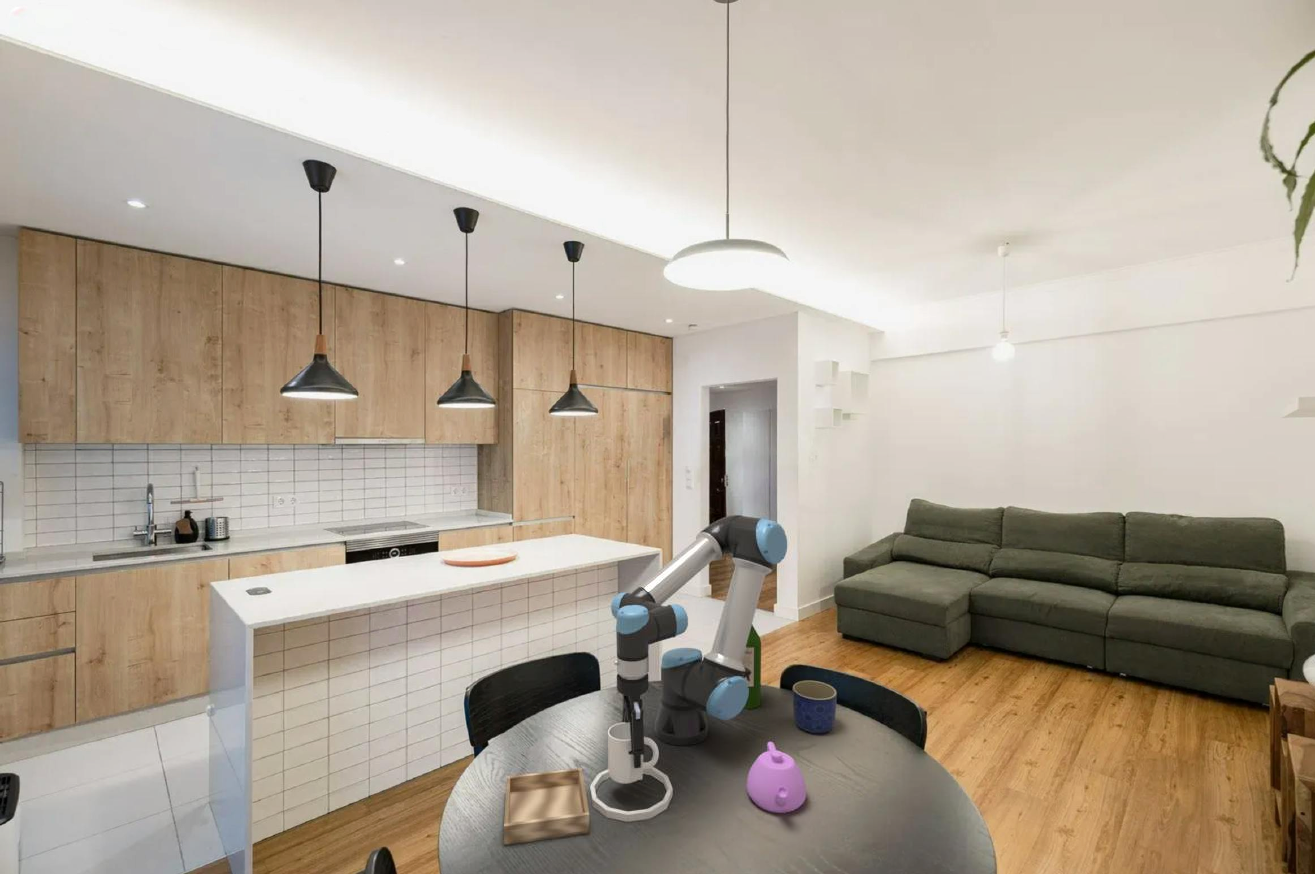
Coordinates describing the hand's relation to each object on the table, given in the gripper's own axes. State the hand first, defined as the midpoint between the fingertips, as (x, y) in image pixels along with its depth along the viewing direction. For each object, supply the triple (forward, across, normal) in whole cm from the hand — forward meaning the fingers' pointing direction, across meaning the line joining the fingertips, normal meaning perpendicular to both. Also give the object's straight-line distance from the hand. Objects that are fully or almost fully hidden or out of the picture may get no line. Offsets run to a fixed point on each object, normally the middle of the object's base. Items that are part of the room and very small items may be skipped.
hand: (632, 767), depth 138 cm
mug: (+1, +1, 0) cm, 2 cm away
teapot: (+7, +9, +32) cm, 34 cm away
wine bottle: (+7, -38, +44) cm, 58 cm away
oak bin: (+6, +3, -20) cm, 21 cm away
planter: (+7, -20, +58) cm, 61 cm away
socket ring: (+6, 0, 0) cm, 6 cm away
